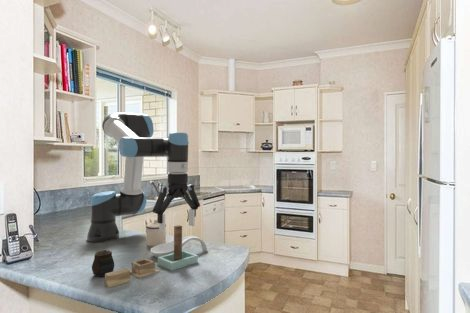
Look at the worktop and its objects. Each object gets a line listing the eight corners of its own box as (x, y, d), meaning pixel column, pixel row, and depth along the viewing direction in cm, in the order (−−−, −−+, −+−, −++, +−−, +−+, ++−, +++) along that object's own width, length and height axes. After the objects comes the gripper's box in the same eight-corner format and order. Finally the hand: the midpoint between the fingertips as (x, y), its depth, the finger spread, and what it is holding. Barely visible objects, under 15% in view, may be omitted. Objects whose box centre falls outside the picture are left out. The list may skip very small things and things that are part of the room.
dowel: (176, 264, 117) (177, 227, 117) (172, 262, 119) (172, 226, 119) (183, 262, 119) (183, 226, 119) (178, 260, 121) (179, 225, 121)
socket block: (127, 273, 111) (127, 262, 110) (147, 267, 116) (147, 256, 116) (138, 279, 105) (138, 267, 105) (159, 273, 111) (159, 262, 111)
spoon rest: (153, 263, 121) (153, 245, 121) (147, 254, 131) (147, 237, 131) (210, 254, 132) (210, 238, 131) (200, 247, 142) (200, 231, 142)
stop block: (105, 286, 100) (105, 273, 100) (125, 279, 105) (125, 268, 105) (109, 289, 98) (109, 276, 98) (130, 282, 103) (130, 270, 103)
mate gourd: (110, 269, 114) (110, 242, 114) (118, 275, 109) (118, 247, 108) (89, 274, 109) (89, 246, 109) (96, 281, 104) (96, 251, 104)
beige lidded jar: (169, 244, 146) (169, 219, 146) (152, 248, 140) (152, 222, 140) (156, 239, 155) (156, 215, 155) (139, 242, 148) (139, 218, 148)
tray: (157, 266, 118) (157, 257, 118) (183, 258, 126) (183, 250, 126) (171, 272, 111) (171, 263, 111) (197, 263, 120) (197, 255, 120)
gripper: (154, 175, 107) (153, 236, 108) (209, 172, 125) (208, 224, 125) (143, 174, 112) (142, 232, 113) (197, 171, 130) (196, 221, 131)
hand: (177, 228), depth 119 cm, fingers open, 13 cm apart
